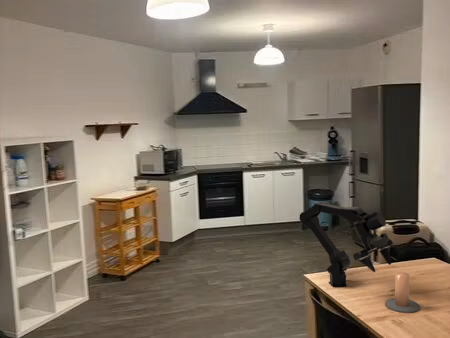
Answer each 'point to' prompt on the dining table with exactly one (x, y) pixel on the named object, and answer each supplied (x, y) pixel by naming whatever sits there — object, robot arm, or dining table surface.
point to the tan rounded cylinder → (402, 289)
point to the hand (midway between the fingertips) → (382, 268)
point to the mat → (409, 309)
